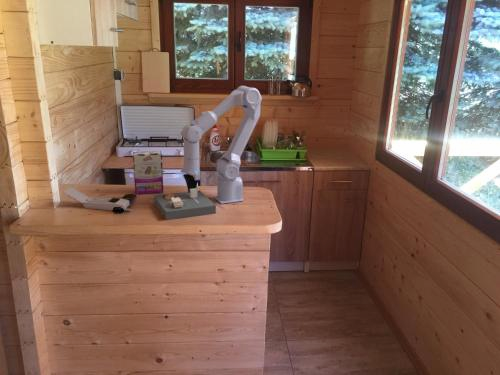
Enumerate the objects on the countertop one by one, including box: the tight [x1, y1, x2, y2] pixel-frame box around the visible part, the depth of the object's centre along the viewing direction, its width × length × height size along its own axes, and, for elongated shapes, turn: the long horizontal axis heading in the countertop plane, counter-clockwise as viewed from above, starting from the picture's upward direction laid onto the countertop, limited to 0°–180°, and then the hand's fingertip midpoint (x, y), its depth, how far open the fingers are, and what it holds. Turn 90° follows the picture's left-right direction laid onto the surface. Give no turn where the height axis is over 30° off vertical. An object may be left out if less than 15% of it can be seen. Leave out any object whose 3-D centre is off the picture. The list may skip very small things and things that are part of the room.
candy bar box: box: [132, 150, 164, 195], centre depth 167 cm, size 11×5×16 cm, turn 106°
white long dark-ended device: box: [62, 186, 131, 212], centre depth 152 cm, size 6×6×25 cm
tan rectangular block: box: [190, 187, 198, 198], centre depth 155 cm, size 2×2×3 cm
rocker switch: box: [171, 197, 183, 208], centre depth 147 cm, size 3×5×1 cm, turn 25°
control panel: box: [153, 189, 217, 221], centre depth 153 cm, size 18×18×5 cm
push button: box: [165, 193, 175, 200], centre depth 156 cm, size 4×4×3 cm
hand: (191, 193), depth 157 cm, fingers closed
